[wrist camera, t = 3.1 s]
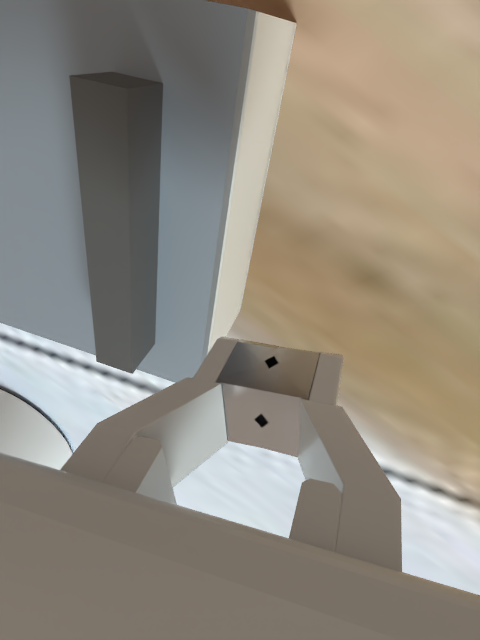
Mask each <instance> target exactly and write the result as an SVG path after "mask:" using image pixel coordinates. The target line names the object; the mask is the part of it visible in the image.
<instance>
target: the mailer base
mask: <svg viewBox="0 0 480 640" xmlns="http://www.w3.org/2000/svg"><path fill="white" fill-rule="evenodd" d="M296 25H297V23H294V22H291V21H288V20H284V19H281V18H278V17H274V16H271V15H268V14H265V13H261V12H257V11H256V17H255V24H254V31H253V38H252V45H251V51H250V58H249V65H248V72H247V79H246V86H245V93H244V100H243V107H242V114H241V121H240V128H239V135H238V142H237V149H236V156H235V163H234V170H233V177H232V184H231V191H230V198H229V205H228V212H227V219H226V226H225V233H224V240H223V247H222V254H221V261H220V268H219V275H218V282H217V289H216V296H215V303H214V310H213V317H212V324H211V331H210V337H209V344H208V351H207V355H208V353H209V351H210V350H211V348H212V347H213V345H214V343H215V342H216V340H217V339H218V338H220V337H226V336H227V334H228V332H229V330H230V328H231V326H232V324H233V323H234V321H235V319H236V317H237V315H238V313H239V311H240V309H241V305H242V300H243V294H244V289H245V284H246V279H247V274H248V269H249V264H250V259H251V254H252V249H253V244H254V239H255V233H256V228H257V223H258V218H259V213H260V208H261V203H262V198H263V193H264V188H265V183H266V177H267V172H268V167H269V162H270V157H271V152H272V147H273V142H274V137H275V132H276V127H277V121H278V116H279V111H280V106H281V101H282V96H283V91H284V86H285V81H286V76H287V71H288V65H289V60H290V55H291V50H292V45H293V40H294V35H295V30H296Z"/></svg>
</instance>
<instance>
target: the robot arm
mask: <svg viewBox="0 0 480 640" xmlns="http://www.w3.org/2000/svg"><path fill="white" fill-rule="evenodd" d="M342 366H343V355H340V354H332V353H324V352H321V353H320V352H313V351H306V350H299V349H293V348H286V347H279V346H275V345H269V344H264V343H258V342H252V341H247V340H239V339H234V338H228V337H220V338H218V339H217V340H216V342H215V343H214V345H213V347H212V348H211V350H210V351H209V353H208V355H207V356H206V358H205V359H204V361H203V363H202V364H201V366H200V367H199V369H198V371H197V372H196V374H195V375H194V377H193V378H189V377H187V378H185V379H183V380H181V381H179V382H177V383H175V384H173V385H171V386H169V387H167V388H165V389H163V390H161V391H159V392H157V393H155V394H153V395H152V396H150V397H148V398H146V399H144V400H142V401H140V402H138V403H136V404H134V405H132V406H130V407H128V408H126V409H124V410H122V411H120V412H118V413H117V414H115V415H113V416H111V417H109V418H107V419H105V420H103V421H101V422H99V423H97V425H96V426H95V427H94V428H93V429H92V431H91V432H90V433H89V434H88V436H87V437H86V438H85V439H84V441H83V442H82V443H81V444H80V446H79V447H78V448H77V449H76V451H75V452H74V453H73V454H72V451H71V449H70V447H69V445H68V443H67V442H66V440H65V439H64V437H63V436H62V435H61V434H60V432H59V431H58V430H57V429H56V428H55V427H54V426H53V425H52V424H51V423H50V422H49V421H48V420H47V419H46V418H45V417H44V416H43V415H41V414H40V413H39V412H38V411H36V410H35V409H34V408H32V407H31V406H30V405H28V404H27V403H25V402H23V401H22V400H20V399H19V398H17V397H15V396H13V395H11V394H9V393H7V392H5V391H3V390H1V389H0V640H480V595H477V594H473V593H470V592H467V591H463V590H460V589H457V588H453V587H450V586H447V585H443V584H440V583H436V582H433V581H430V580H426V579H423V578H420V577H416V576H413V575H410V574H406V573H403V572H402V544H401V499H400V497H399V495H398V494H397V492H396V491H395V489H394V488H393V486H392V484H391V483H390V481H389V480H388V478H387V477H386V475H385V473H384V472H383V470H382V469H381V467H380V466H379V464H378V462H377V461H376V459H375V458H374V456H373V454H372V453H371V451H370V450H369V448H368V447H367V445H366V443H365V442H364V440H363V439H362V437H361V436H360V434H359V432H358V431H357V429H356V428H355V426H354V425H353V423H352V421H351V420H350V418H349V417H348V415H347V414H346V412H345V410H344V409H343V407H341V406H338V399H339V391H340V382H341V374H342ZM227 441H231V442H236V443H241V444H246V445H251V446H256V447H261V448H265V449H269V450H272V451H276V452H280V453H284V454H288V455H291V456H295V457H298V460H299V463H300V466H301V468H302V471H303V474H304V477H305V479H306V481H304V482H302V485H301V489H300V493H299V498H298V502H297V506H296V510H295V515H294V519H293V523H292V527H291V532H290V536H289V538H286V537H282V536H279V535H276V534H272V533H269V532H266V531H262V530H259V529H256V528H252V527H249V526H245V525H242V524H239V523H235V522H232V521H229V520H225V519H222V518H219V517H215V516H212V515H209V514H205V513H202V512H199V511H195V510H192V509H189V508H185V507H182V506H179V505H177V504H176V500H175V496H174V492H173V487H174V486H175V485H177V484H178V483H179V482H180V481H181V480H183V479H184V478H185V477H186V476H188V475H189V474H190V473H191V472H192V471H194V470H195V469H196V468H197V467H199V466H200V465H201V464H202V463H203V462H205V461H206V460H207V459H208V458H210V457H211V456H212V455H213V454H214V453H216V452H217V451H218V450H219V449H221V448H222V447H223V446H224V445H225V444H227Z"/></svg>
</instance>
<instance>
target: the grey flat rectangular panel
mask: <svg viewBox="0 0 480 640" xmlns="http://www.w3.org/2000/svg"><path fill="white" fill-rule="evenodd" d="M255 17H256V11H255V10H251V9H248V8H243V7H238V6H233V5H228V4H222V3H217V2H212V1H207V0H0V323H3V324H6V325H9V326H12V327H15V328H18V329H20V330H23V331H26V332H29V333H32V334H35V335H38V336H41V337H44V338H47V339H50V340H53V341H55V342H58V343H61V344H64V345H67V346H70V347H73V348H76V349H79V350H82V351H85V352H88V353H91V354H93V355H96V360H97V362H100V363H103V364H106V365H108V366H111V367H114V368H117V369H120V370H123V371H126V372H129V373H132V374H133V372H134V371H135V370H136V369H137V370H140V371H143V372H146V373H149V374H152V375H155V376H158V377H161V378H164V379H167V380H169V381H172V382H175V383H177V382H179V381H181V380H183V379H185V378H187V377H189V378H193V377H194V375H195V374H196V372H197V371H198V369H199V367H200V366H201V364H202V363H203V361H204V359H205V358H206V356H207V351H208V344H209V337H210V331H211V324H212V317H213V310H214V303H215V296H216V289H217V282H218V275H219V268H220V261H221V254H222V247H223V240H224V233H225V226H226V219H227V212H228V205H229V198H230V191H231V184H232V177H233V170H234V163H235V156H236V149H237V142H238V135H239V128H240V121H241V114H242V107H243V100H244V93H245V86H246V79H247V72H248V65H249V58H250V51H251V45H252V38H253V31H254V24H255Z"/></svg>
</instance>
